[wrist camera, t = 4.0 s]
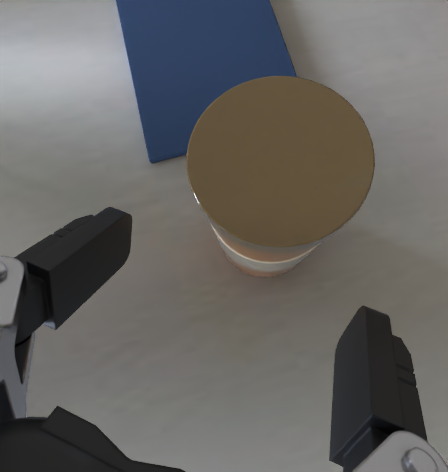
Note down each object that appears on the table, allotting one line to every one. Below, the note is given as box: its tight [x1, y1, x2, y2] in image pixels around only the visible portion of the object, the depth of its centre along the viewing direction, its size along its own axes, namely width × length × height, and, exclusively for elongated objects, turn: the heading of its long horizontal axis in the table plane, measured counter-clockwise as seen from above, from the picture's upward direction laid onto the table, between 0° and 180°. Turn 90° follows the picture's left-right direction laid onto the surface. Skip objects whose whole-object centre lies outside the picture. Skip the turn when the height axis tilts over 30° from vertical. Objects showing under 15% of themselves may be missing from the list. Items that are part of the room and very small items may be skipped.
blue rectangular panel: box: [116, 0, 297, 163], centre depth 24 cm, size 11×20×1 cm, turn 14°
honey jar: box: [186, 76, 375, 277], centre depth 15 cm, size 6×6×10 cm
